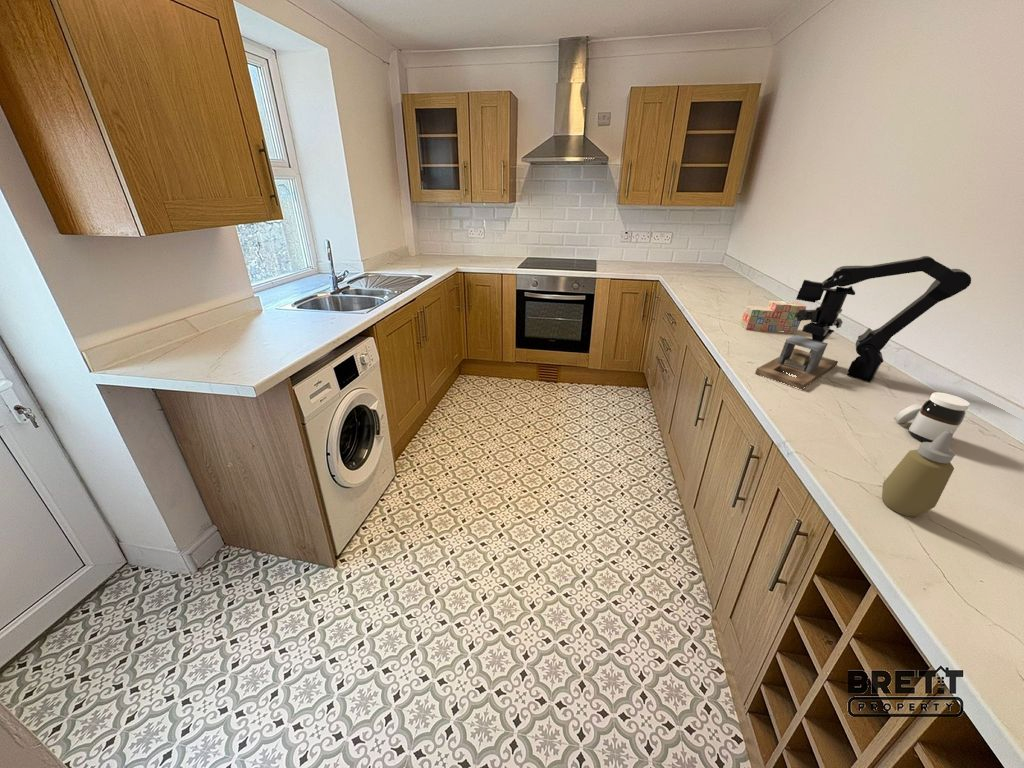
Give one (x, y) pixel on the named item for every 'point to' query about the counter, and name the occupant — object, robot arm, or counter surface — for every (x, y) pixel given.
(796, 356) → the maple block
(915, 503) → the squeeze bottle
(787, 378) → the tunnel deck
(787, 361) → the sled
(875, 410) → the counter surface
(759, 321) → the stack of blocks
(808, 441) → the counter surface
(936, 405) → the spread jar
